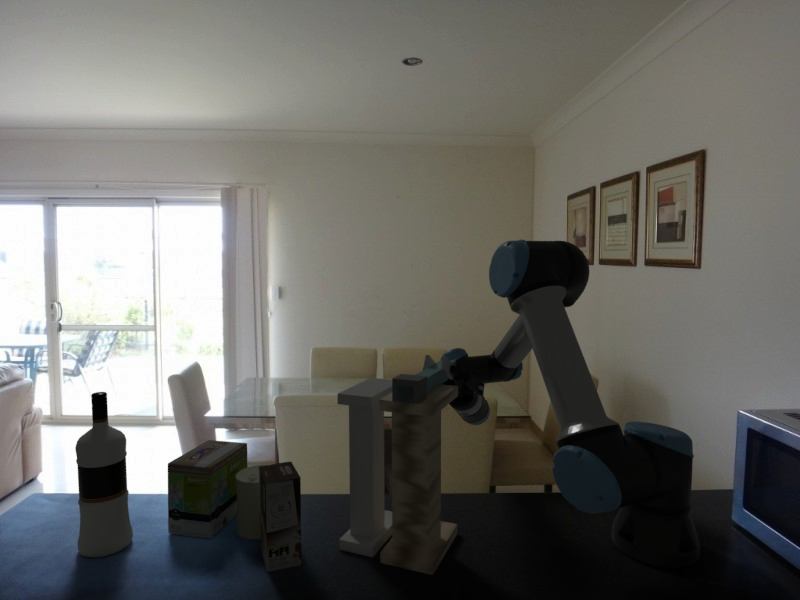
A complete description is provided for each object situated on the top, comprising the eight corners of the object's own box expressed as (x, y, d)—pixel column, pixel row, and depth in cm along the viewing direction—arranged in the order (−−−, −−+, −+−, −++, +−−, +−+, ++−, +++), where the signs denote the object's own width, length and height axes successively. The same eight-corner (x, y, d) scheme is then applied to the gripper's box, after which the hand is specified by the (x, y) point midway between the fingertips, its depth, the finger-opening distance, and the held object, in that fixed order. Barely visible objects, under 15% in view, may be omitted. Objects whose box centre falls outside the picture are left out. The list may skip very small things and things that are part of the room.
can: (227, 536, 105) (226, 478, 104) (251, 515, 114) (250, 460, 113) (270, 542, 103) (268, 482, 102) (290, 519, 112) (289, 464, 111)
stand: (401, 522, 110) (401, 380, 108) (372, 557, 97) (371, 397, 95) (371, 516, 113) (370, 377, 111) (339, 549, 100) (337, 393, 98)
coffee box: (303, 565, 95) (301, 478, 94) (266, 573, 92) (264, 483, 91) (293, 540, 103) (292, 460, 102) (259, 547, 101) (258, 464, 100)
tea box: (212, 540, 104) (210, 466, 102) (167, 535, 106) (164, 463, 104) (249, 505, 118) (247, 441, 117) (208, 501, 120) (206, 438, 119)
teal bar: (460, 374, 113) (460, 356, 113) (419, 403, 90) (419, 380, 90) (438, 372, 115) (438, 354, 115) (392, 401, 92) (392, 378, 92)
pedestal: (457, 533, 106) (458, 385, 103) (432, 575, 92) (432, 405, 90) (410, 524, 109) (410, 381, 107) (380, 562, 96) (379, 399, 93)
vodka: (73, 564, 95) (65, 401, 93) (82, 539, 104) (75, 389, 102) (131, 553, 99) (124, 395, 97) (135, 530, 107) (128, 384, 105)
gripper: (494, 415, 121) (471, 383, 101) (428, 407, 127) (394, 376, 107) (498, 383, 124) (476, 346, 104) (433, 377, 130) (401, 342, 110)
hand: (435, 362), depth 106 cm, fingers closed on teal bar, 3 cm apart
